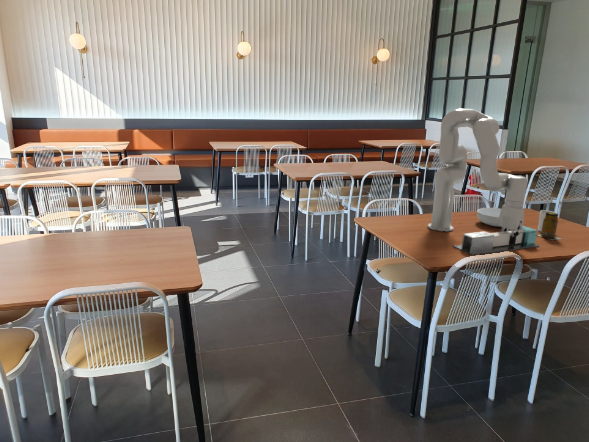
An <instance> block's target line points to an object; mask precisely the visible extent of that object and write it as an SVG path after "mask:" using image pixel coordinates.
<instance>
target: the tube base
mask: <svg viewBox="0 0 589 442" xmlns="http://www.w3.org/2000/svg"><path fill="white" fill-rule="evenodd" d="M523 230H524V238H523V243H518V244H512V245H503V246H495V247H493V241H494V235H493V234H490V233H491V232H487V231H486V230H485V231H477V232H467V233H463V235H462V243H461V244H457V245H452V247H453V248H454V247H455V248H454V249H456V248H457V249H456V250H459V249H460V250H459V251H461V250H462V251H461V252H463V251H464V253H465V252H466V253H465V254H467V253H468V255H470V254H471V255H470V256H472V255H475V256H479V255H478V254H482V255H488V253H490V254H495V253H496V252H497V253H501V251H504V252H508V251H517V250H524V249H525V250H526V249H532V248H537V247H539V248H540V245H539V244H538V243H537V244H536V240H537V236H538V229H535V228H532V227H529V226H525V225H523Z"/></svg>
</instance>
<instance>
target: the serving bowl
mask: <svg viewBox="0 0 589 442" xmlns="http://www.w3.org/2000/svg"><path fill="white" fill-rule="evenodd" d="M501 209H502V208H499V207H498V208H497V207H481V208H478V209H477V210H476V215H477V219H478V220H479V221H480V222H481V223H484V224H485V225H488V226H491V227H496V228H497V227H498V228H500V227H499V226H498V224H497V223H498V220H499V216H500V212H501Z"/></svg>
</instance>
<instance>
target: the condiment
mask: <svg viewBox="0 0 589 442" xmlns="http://www.w3.org/2000/svg"><path fill="white" fill-rule="evenodd" d="M553 212H554V211H552V212H547V213H546V215H545V218H544V220H543V226H542V231H540V234H537V236H538V237H540V238H544V239H547V240H551V241H554V240H555V241H556V240H562V238H560V237H558V236H556V233H557V227H558V223H559V219H558V218H559V214H558V213H556V212H555V213H553Z"/></svg>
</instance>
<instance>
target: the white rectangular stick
mask: <svg viewBox="0 0 589 442" xmlns="http://www.w3.org/2000/svg"><path fill="white" fill-rule="evenodd" d="M518 231H519V230H518ZM489 233H490V234H493V235H494V241H493V247H495V246H503V245H510V244H509V240H510V236H511V230H508V231H505V232H501V231H496V232H489ZM514 233H515V231H514ZM523 238H524V232H523V233H521V234H519V235H518V236H516V242H515V244H518V243H523Z"/></svg>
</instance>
